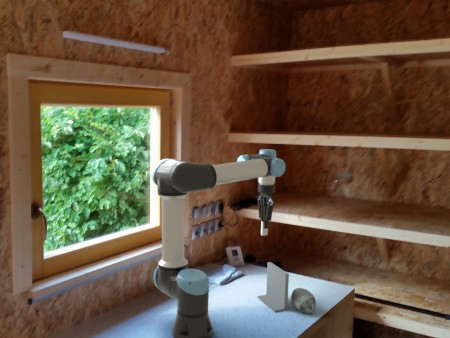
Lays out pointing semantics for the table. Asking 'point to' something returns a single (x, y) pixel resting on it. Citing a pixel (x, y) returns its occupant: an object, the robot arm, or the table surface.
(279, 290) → the grey screen
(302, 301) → the grey streaked ovoid
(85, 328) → the table surface
